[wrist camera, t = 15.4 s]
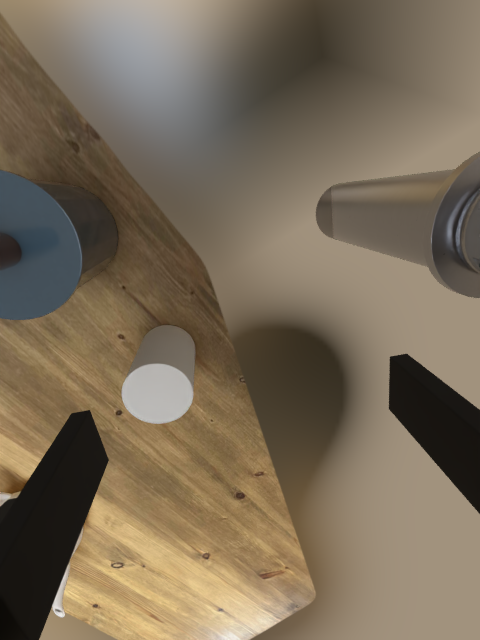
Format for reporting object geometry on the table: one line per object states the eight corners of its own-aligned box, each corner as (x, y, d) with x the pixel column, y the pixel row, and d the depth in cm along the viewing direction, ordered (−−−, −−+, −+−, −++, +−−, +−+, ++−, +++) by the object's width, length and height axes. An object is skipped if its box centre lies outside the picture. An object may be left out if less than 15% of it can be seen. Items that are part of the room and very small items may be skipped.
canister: (102, 176, 40) (51, 165, 26) (128, 270, 44) (96, 301, 31) (5, 191, 39) (-98, 187, 26) (41, 284, 44) (-32, 323, 30)
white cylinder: (153, 380, 50) (139, 431, 39) (131, 335, 47) (109, 376, 36) (202, 364, 50) (202, 411, 39) (184, 317, 47) (178, 354, 36)
